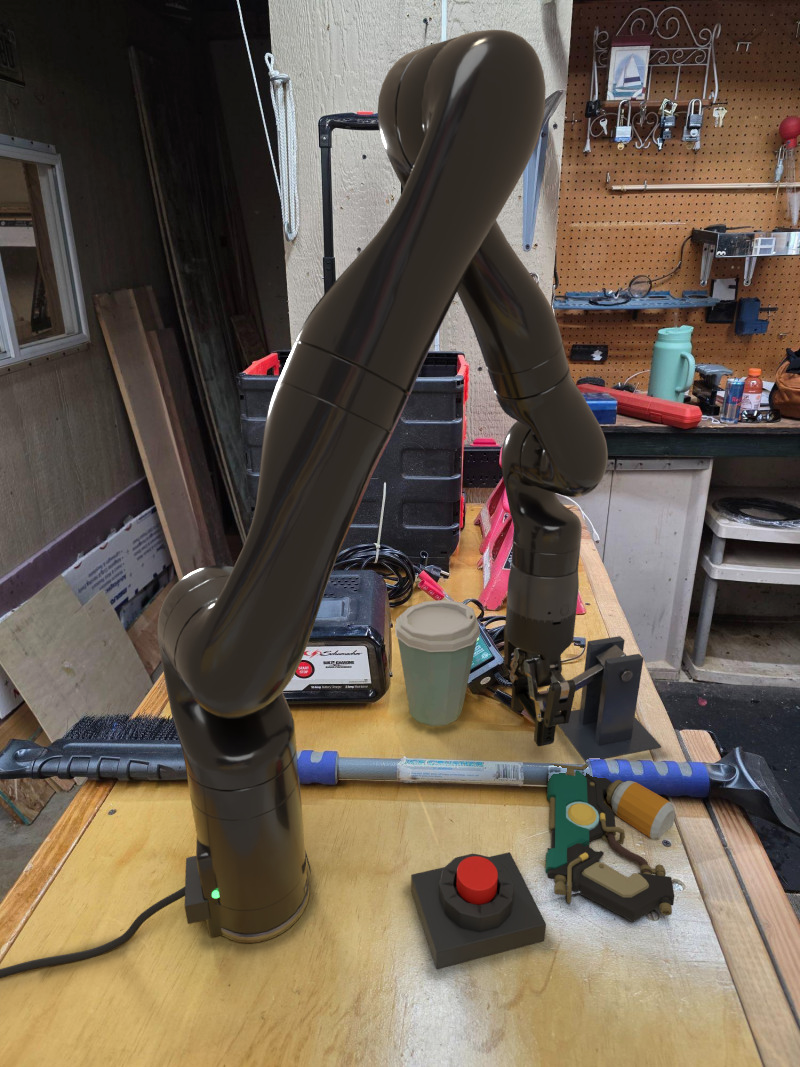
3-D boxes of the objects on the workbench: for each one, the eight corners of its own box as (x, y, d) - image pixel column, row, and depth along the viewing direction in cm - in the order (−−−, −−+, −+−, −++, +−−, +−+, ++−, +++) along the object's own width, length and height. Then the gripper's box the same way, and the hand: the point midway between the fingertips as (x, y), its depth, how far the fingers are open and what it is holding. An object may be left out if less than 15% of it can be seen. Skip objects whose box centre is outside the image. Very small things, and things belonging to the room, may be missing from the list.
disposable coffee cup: (386, 734, 86) (384, 631, 80) (404, 685, 96) (403, 589, 90) (471, 746, 84) (475, 640, 78) (480, 694, 94) (484, 597, 88)
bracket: (584, 769, 80) (596, 677, 75) (550, 721, 88) (558, 635, 83) (660, 754, 83) (675, 663, 78) (619, 709, 91) (631, 624, 86)
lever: (540, 733, 79) (533, 719, 78) (520, 705, 84) (513, 691, 83) (639, 676, 79) (633, 661, 78) (613, 651, 84) (608, 637, 83)
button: (464, 908, 60) (465, 894, 59) (451, 874, 63) (451, 860, 62) (503, 899, 60) (504, 884, 60) (488, 866, 64) (488, 852, 63)
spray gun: (665, 951, 60) (502, 888, 67) (690, 814, 73) (552, 772, 80) (669, 919, 58) (502, 857, 65) (694, 784, 72) (553, 743, 78)
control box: (436, 970, 58) (436, 937, 57) (410, 891, 65) (410, 860, 64) (544, 941, 61) (548, 909, 59) (508, 868, 68) (510, 837, 66)
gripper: (485, 576, 81) (480, 695, 87) (538, 639, 68) (527, 773, 74) (544, 569, 82) (534, 686, 89) (606, 628, 70) (590, 760, 76)
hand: (531, 725), depth 82 cm, fingers open, 6 cm apart
